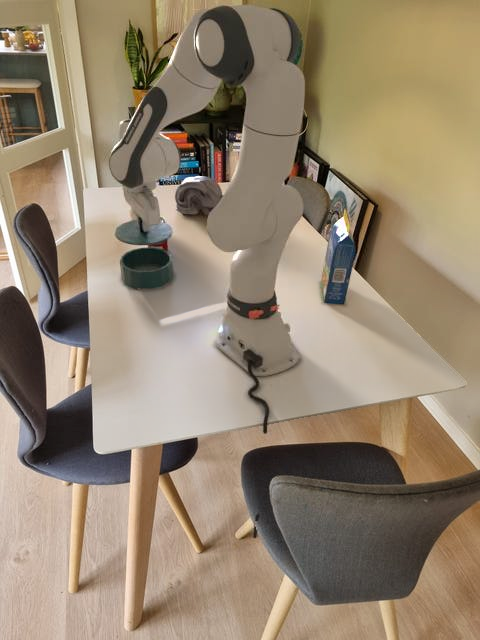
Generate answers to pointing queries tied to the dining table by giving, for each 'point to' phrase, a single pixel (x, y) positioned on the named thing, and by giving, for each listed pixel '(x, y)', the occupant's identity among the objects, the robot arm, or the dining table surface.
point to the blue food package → (338, 262)
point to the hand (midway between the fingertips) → (143, 227)
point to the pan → (146, 278)
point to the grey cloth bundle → (197, 195)
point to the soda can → (163, 244)
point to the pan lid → (142, 233)
